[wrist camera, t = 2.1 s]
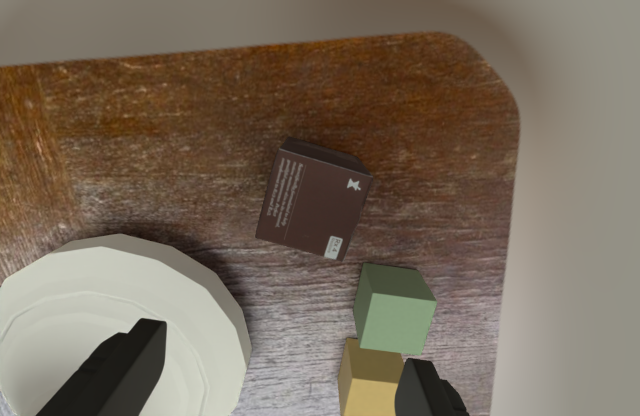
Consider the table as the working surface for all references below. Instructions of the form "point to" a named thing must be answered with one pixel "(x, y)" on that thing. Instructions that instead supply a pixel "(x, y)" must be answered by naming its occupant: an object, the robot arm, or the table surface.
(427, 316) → the block
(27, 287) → the candle holder
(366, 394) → the block
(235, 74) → the table surface
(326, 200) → the box
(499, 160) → the table surface
